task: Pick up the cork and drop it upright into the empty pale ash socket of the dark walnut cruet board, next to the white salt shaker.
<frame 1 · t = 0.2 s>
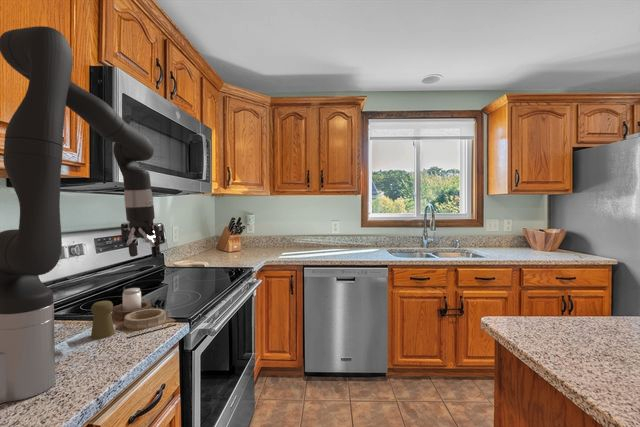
hand: (145, 257, 102), 22 cm above the counter, tool pointing down, fingers open, 8 cm apart
cruet board: (138, 322, 108), on the counter
cork: (103, 341, 94), on the counter
salt shaker: (132, 313, 112), point 1 cm above the counter, touching cruet board
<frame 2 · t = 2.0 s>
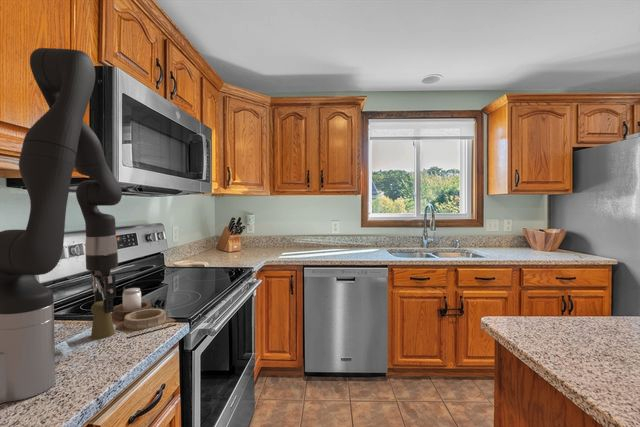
hand: (104, 308, 94), 9 cm above the counter, tool pointing down, fingers open, 8 cm apart
nothing on the counter moved.
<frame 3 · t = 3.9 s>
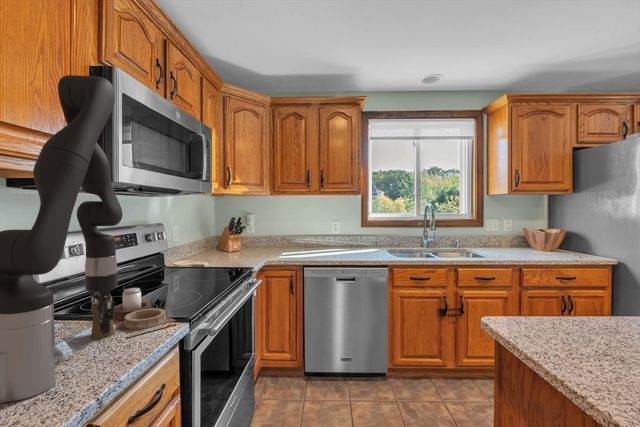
hand: (102, 332, 94), 2 cm above the counter, tool pointing down, fingers closed on cork, 3 cm apart
cork: (103, 340, 94), on the counter, touching gripper
everything else where it was.
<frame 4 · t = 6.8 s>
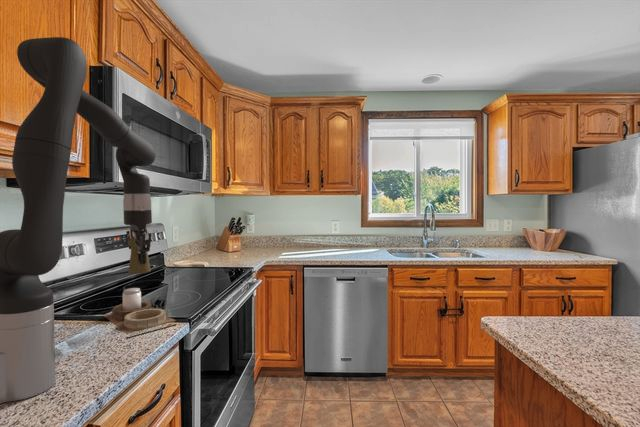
hand: (139, 264, 102), 20 cm above the counter, tool pointing down, fingers closed on cork, 3 cm apart
cork: (139, 272, 102), point 17 cm above the counter, touching gripper
everything else where it was.
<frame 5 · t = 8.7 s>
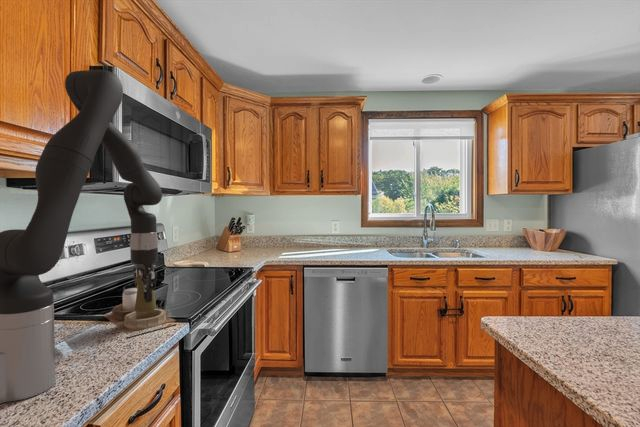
hand: (145, 301, 104), 8 cm above the counter, tool pointing down, fingers closed on cork, 3 cm apart
cork: (145, 309, 104), point 6 cm above the counter, touching gripper
everything else where it was.
when the fingers open (5 cm above the counter, at t = 10.0 s): cork drops 1 cm, resting on cruet board.
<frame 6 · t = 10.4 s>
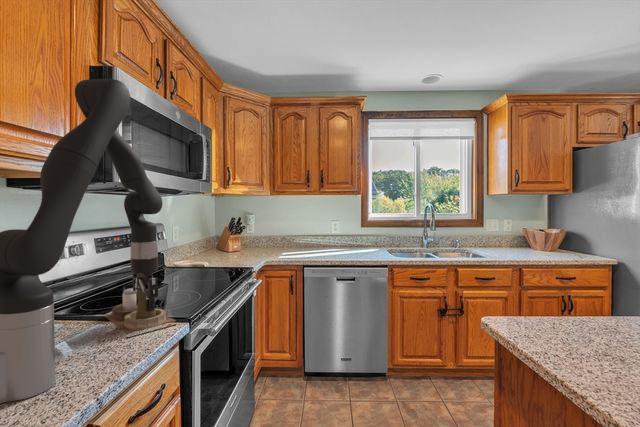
hand: (145, 308, 104), 6 cm above the counter, tool pointing down, fingers open, 7 cm apart
cork: (146, 323, 103), point 1 cm above the counter, touching cruet board
everything else where it was.
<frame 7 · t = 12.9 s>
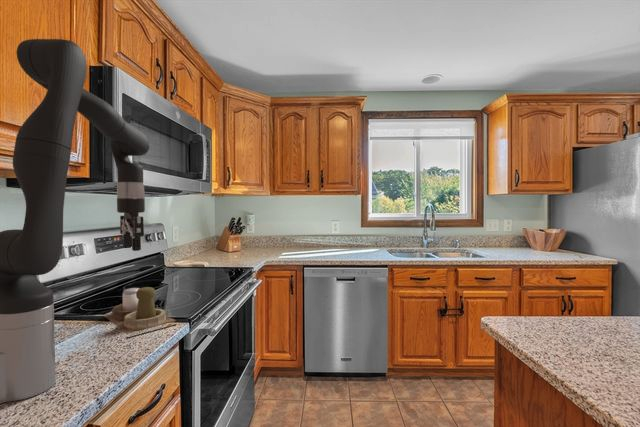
hand: (131, 249, 104), 24 cm above the counter, tool pointing down, fingers open, 8 cm apart
nothing on the counter moved.
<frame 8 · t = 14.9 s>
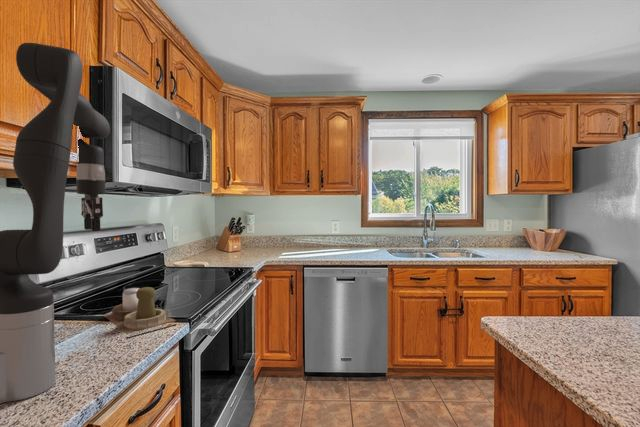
hand: (92, 230, 106), 30 cm above the counter, tool pointing down, fingers open, 8 cm apart
nothing on the counter moved.
at the end: cork 0.9 cm from the target spot on the cruet board, point 1.3 cm above the cruet board's base; cork tilted 0°; the gripper is holding nothing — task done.
